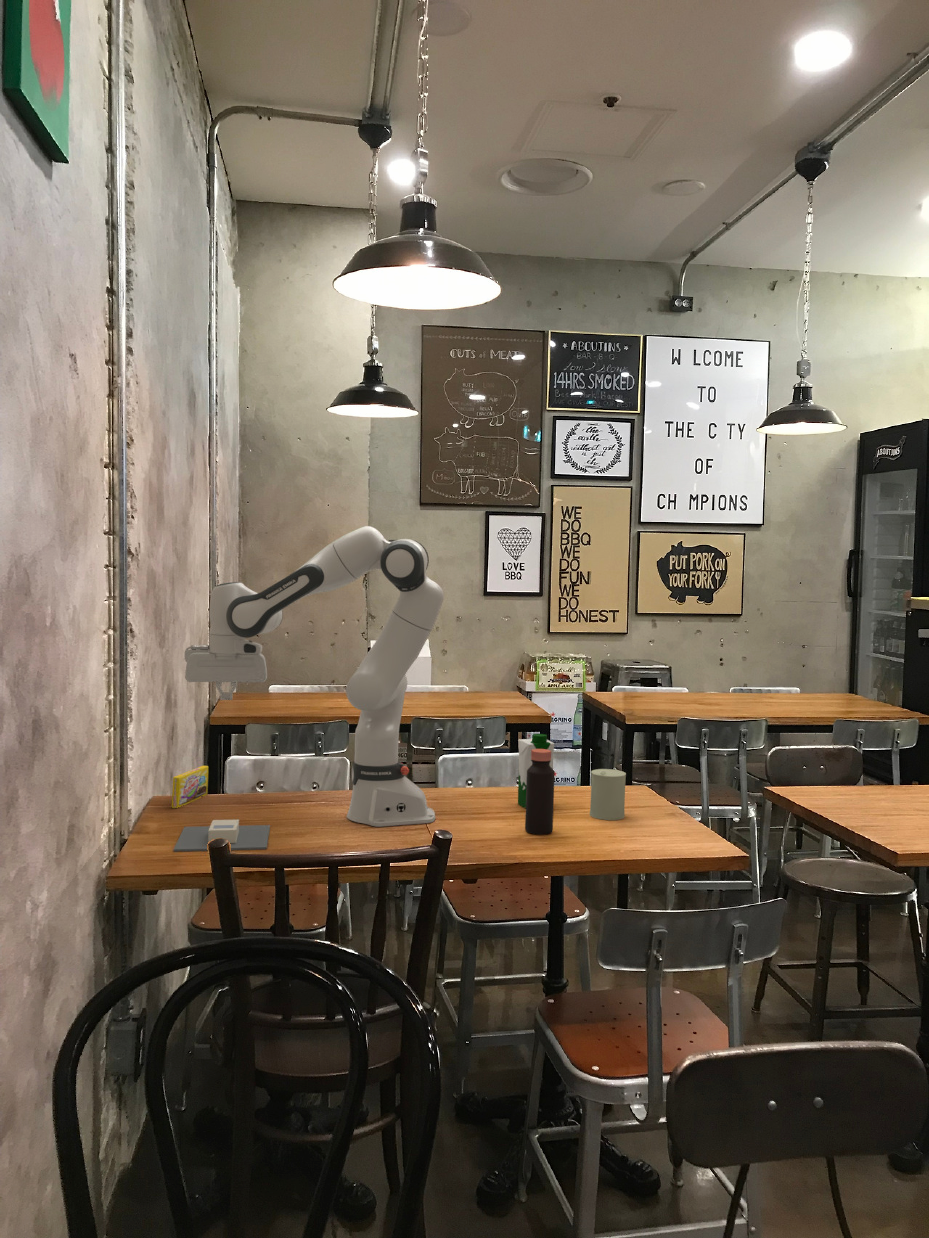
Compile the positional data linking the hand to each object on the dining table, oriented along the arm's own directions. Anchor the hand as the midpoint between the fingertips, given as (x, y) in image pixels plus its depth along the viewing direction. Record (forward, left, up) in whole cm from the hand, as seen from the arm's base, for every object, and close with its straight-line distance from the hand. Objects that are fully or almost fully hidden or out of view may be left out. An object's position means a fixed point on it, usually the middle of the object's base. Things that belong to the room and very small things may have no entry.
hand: (226, 699), depth 229 cm
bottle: (-77, +24, -29) cm, 86 cm away
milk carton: (-82, 0, -29) cm, 87 cm away
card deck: (-2, +20, -27) cm, 34 cm away
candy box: (+10, -12, -29) cm, 33 cm away
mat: (-2, +24, -29) cm, 38 cm away
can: (-99, +11, -29) cm, 104 cm away
